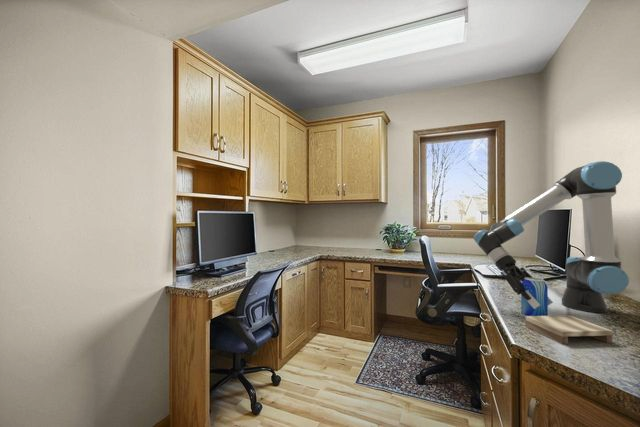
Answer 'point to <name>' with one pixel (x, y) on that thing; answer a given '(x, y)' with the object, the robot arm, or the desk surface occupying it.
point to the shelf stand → (566, 328)
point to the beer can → (539, 293)
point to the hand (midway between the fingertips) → (543, 305)
